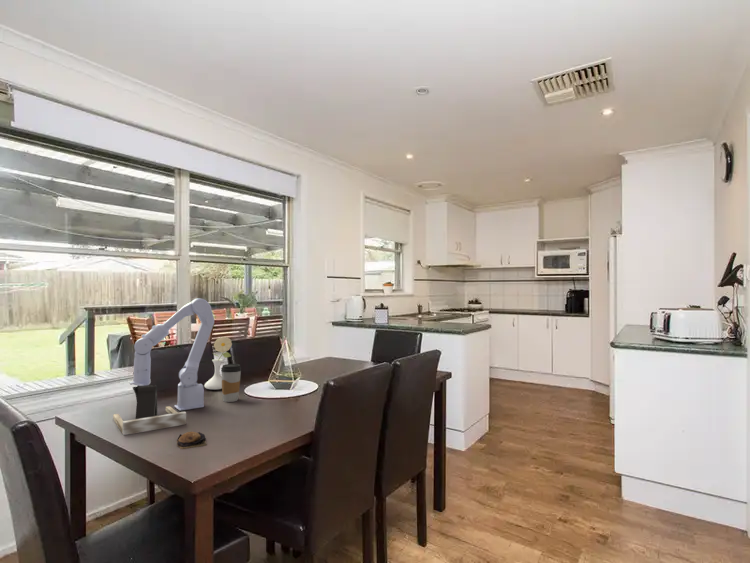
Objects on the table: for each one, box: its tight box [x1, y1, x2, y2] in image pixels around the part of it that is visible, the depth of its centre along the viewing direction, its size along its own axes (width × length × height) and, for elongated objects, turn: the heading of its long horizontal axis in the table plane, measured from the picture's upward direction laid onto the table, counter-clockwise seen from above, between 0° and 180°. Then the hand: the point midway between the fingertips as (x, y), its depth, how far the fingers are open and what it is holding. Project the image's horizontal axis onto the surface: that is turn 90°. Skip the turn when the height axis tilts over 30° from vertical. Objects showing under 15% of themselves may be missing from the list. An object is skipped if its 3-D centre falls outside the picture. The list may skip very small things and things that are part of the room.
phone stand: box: [134, 384, 158, 419], centre depth 156 cm, size 9×6×12 cm, turn 20°
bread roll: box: [176, 431, 207, 450], centre depth 133 cm, size 11×8×4 cm
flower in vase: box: [203, 336, 233, 391], centre depth 204 cm, size 13×11×25 cm
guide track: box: [112, 406, 187, 436], centre depth 153 cm, size 19×22×4 cm
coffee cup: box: [220, 363, 242, 403], centre depth 183 cm, size 8×8×15 cm
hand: (141, 405), depth 163 cm, fingers closed
